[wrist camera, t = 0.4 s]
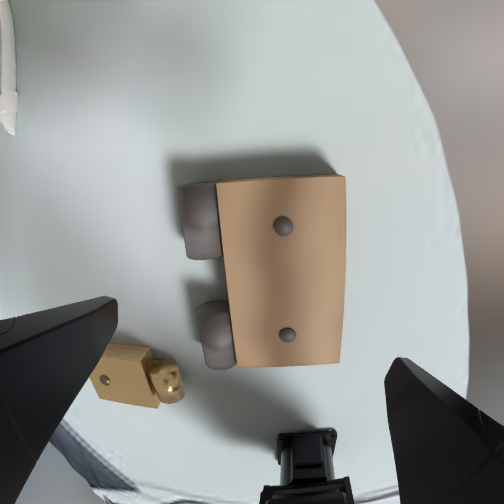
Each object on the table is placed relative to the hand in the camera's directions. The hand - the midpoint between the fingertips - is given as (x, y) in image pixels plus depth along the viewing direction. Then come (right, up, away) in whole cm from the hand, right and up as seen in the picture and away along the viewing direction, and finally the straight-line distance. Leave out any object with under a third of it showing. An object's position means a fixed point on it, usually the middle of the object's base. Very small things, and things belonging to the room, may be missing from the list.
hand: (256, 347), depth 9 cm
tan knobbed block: (-11, -9, +19) cm, 23 cm away
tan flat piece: (+1, +1, +14) cm, 14 cm away
